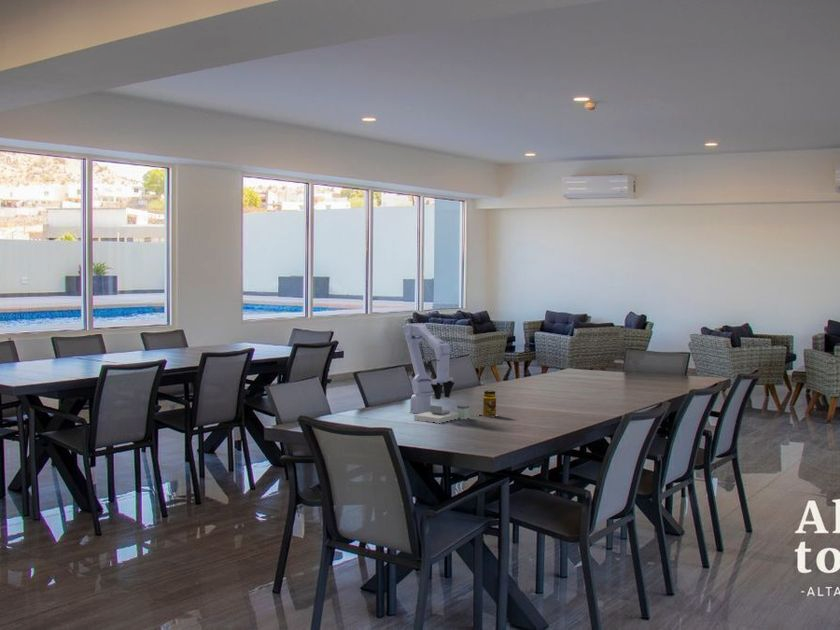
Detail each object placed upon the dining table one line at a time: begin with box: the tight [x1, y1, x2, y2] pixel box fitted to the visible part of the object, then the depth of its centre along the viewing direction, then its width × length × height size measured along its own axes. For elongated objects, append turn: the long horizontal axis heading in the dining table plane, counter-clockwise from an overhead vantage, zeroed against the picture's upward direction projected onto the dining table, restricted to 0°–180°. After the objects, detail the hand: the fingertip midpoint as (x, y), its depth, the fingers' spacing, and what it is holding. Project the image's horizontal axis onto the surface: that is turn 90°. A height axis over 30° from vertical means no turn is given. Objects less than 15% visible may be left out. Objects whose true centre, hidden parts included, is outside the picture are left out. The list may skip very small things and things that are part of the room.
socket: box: [413, 412, 459, 424], centre depth 389 cm, size 14×16×2 cm
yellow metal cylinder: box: [477, 390, 499, 418], centre depth 401 cm, size 7×8×12 cm
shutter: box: [430, 404, 451, 414], centre depth 391 cm, size 6×7×4 cm
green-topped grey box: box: [456, 404, 470, 420], centre depth 393 cm, size 4×4×6 cm
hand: (442, 398), depth 392 cm, fingers open, 7 cm apart
